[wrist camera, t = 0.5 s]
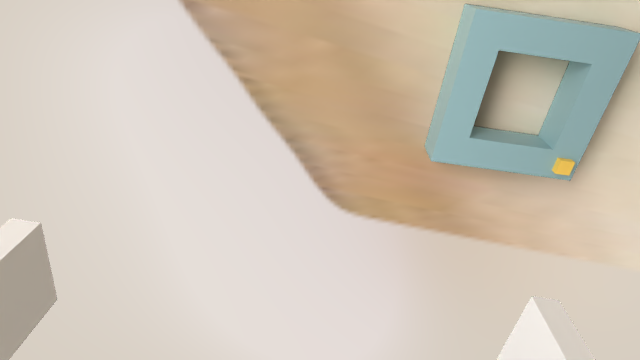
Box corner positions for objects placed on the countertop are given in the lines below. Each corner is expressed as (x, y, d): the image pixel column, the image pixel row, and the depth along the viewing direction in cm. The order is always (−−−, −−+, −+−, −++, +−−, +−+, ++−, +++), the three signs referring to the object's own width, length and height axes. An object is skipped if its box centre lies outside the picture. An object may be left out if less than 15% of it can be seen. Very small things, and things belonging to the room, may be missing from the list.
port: (464, 3, 32) (478, 9, 29) (617, 26, 32) (648, 35, 29) (424, 146, 38) (432, 164, 34) (554, 164, 38) (573, 184, 35)
